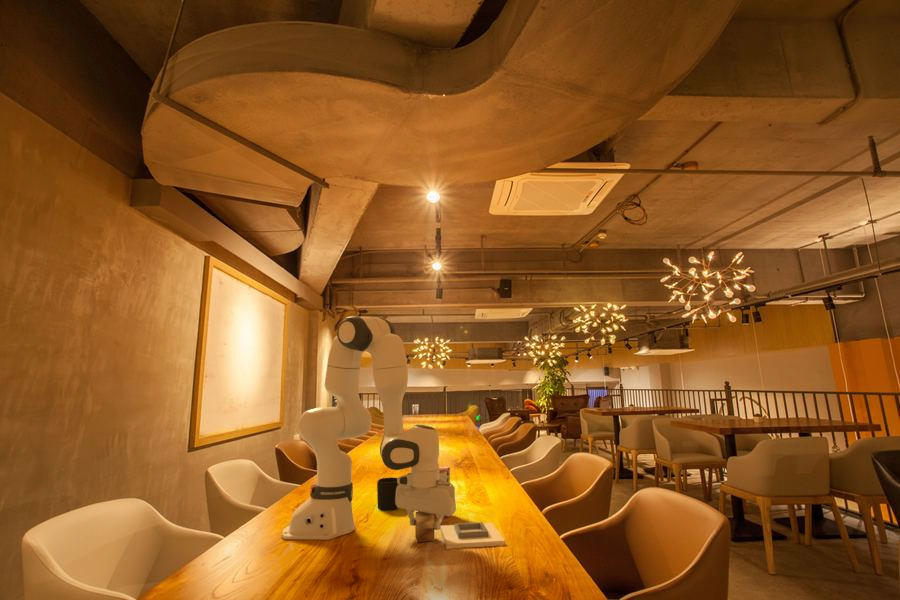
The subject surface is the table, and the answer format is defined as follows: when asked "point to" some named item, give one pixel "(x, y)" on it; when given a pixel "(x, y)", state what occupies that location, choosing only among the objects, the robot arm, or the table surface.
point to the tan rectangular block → (424, 526)
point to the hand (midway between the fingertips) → (425, 527)
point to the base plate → (471, 535)
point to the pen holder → (387, 493)
